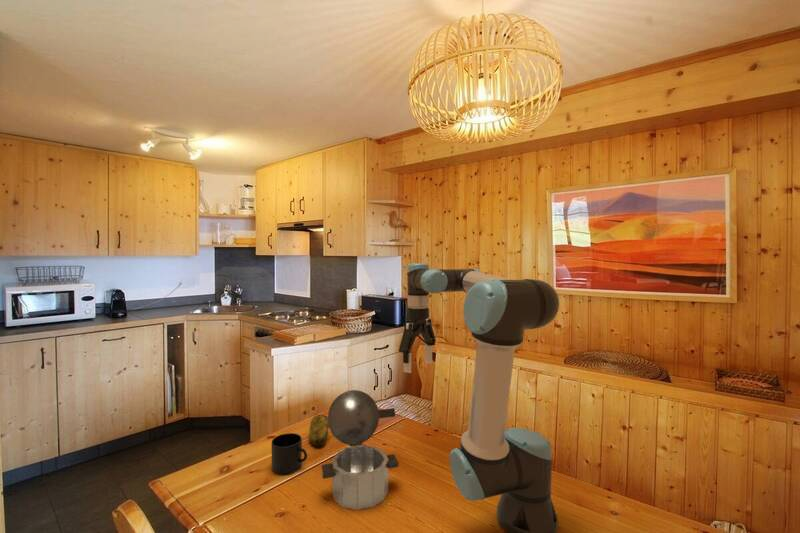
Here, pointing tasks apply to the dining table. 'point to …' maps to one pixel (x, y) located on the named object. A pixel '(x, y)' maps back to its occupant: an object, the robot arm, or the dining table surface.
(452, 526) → the dining table surface
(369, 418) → the lid
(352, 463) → the pot
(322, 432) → the potato
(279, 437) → the mug
